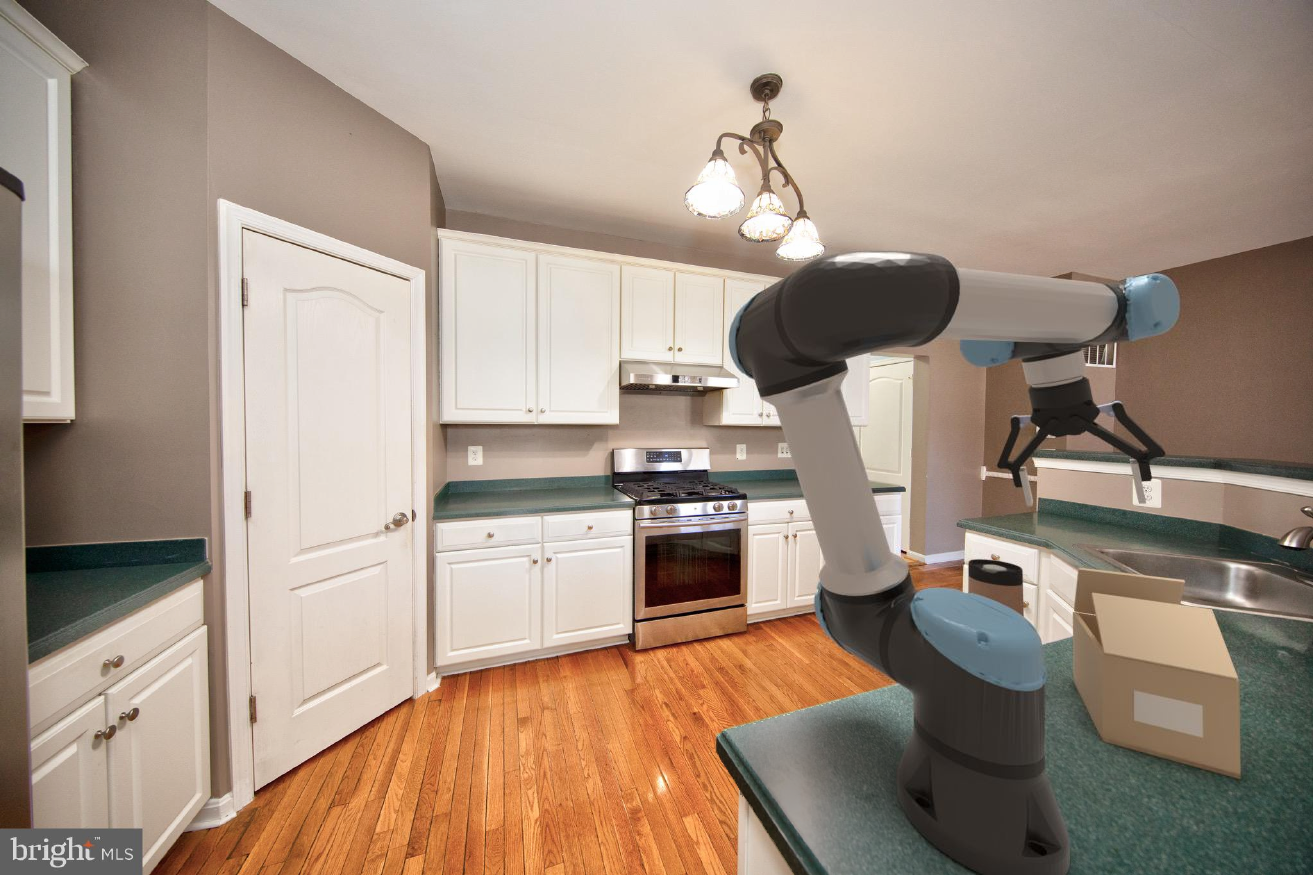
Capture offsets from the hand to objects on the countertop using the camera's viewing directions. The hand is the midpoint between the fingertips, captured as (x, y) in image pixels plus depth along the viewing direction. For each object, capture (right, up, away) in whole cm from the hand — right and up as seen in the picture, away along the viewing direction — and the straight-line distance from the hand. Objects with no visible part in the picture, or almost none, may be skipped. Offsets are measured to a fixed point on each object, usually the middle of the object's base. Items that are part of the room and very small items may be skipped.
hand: (1082, 502), depth 74 cm
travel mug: (-13, -31, +2) cm, 34 cm away
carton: (-1, -31, -10) cm, 32 cm away
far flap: (+3, -15, -4) cm, 16 cm away
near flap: (-4, -16, -14) cm, 22 cm away
